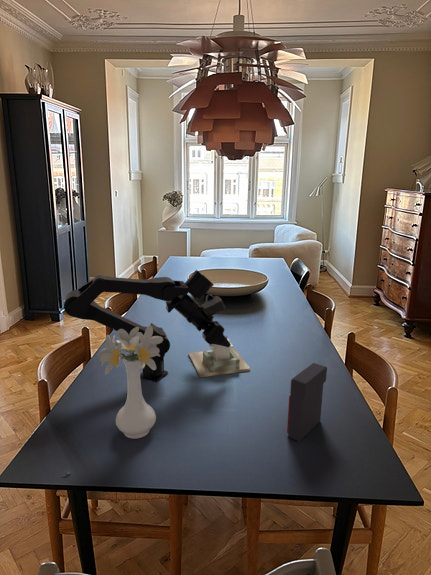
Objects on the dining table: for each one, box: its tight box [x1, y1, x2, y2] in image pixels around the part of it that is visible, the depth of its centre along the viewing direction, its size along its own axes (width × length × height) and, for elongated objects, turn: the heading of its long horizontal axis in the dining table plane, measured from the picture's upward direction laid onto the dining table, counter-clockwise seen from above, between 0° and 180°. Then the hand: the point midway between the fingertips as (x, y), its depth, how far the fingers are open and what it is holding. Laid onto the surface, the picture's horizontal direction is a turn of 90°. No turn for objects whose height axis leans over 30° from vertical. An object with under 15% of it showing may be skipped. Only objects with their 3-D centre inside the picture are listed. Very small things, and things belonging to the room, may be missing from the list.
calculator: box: [286, 362, 328, 442], centre depth 97 cm, size 11×4×15 cm, turn 141°
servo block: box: [208, 335, 234, 361], centre depth 129 cm, size 7×4×9 cm, turn 106°
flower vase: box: [97, 324, 163, 440], centre depth 95 cm, size 13×18×25 cm
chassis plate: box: [188, 347, 251, 378], centre depth 133 cm, size 16×16×4 cm
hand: (225, 340), depth 129 cm, fingers open, 9 cm apart
